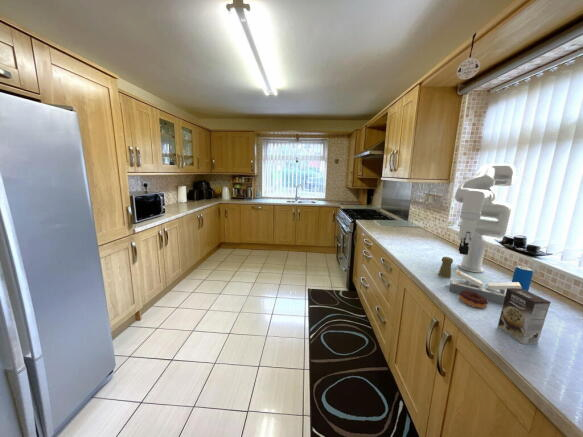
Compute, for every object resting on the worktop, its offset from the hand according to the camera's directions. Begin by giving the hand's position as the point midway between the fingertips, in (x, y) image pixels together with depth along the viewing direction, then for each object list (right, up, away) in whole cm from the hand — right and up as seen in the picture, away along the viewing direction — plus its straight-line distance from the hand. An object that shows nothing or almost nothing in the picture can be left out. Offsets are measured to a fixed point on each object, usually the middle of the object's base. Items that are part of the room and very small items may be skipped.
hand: (462, 252), depth 110 cm
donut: (-2, -22, -8) cm, 23 cm away
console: (+8, -21, -3) cm, 22 cm away
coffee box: (-2, -26, -29) cm, 38 cm away
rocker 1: (+3, -13, 0) cm, 13 cm away
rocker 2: (+14, -14, -6) cm, 21 cm away
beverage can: (+33, -20, +5) cm, 39 cm away
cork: (+4, -16, +19) cm, 25 cm away
